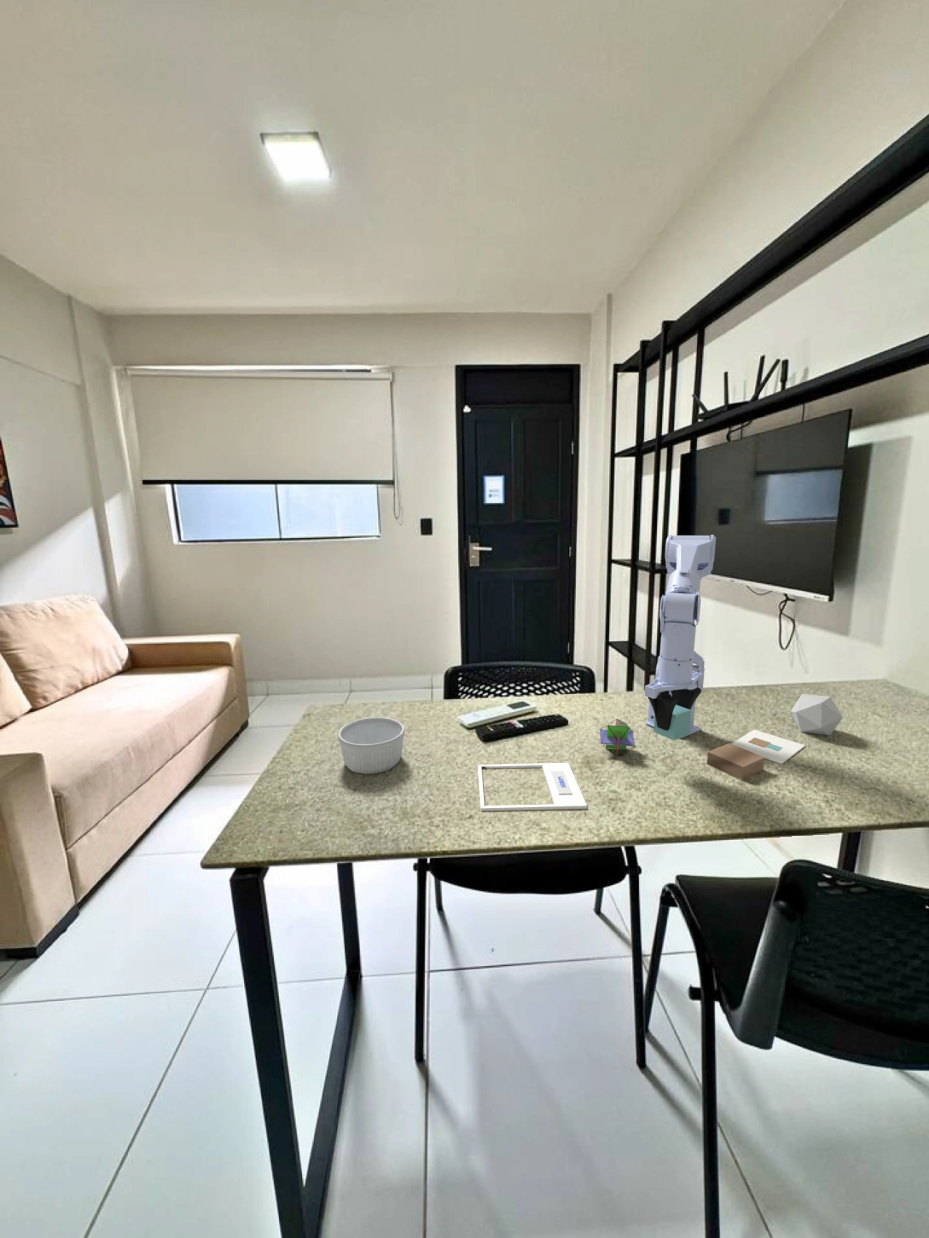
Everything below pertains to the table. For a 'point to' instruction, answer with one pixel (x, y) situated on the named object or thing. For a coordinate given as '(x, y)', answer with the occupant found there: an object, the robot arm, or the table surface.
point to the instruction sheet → (768, 746)
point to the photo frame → (559, 786)
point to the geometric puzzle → (617, 736)
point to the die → (816, 714)
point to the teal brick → (676, 724)
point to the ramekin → (371, 744)
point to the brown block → (735, 761)
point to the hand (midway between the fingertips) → (671, 725)
